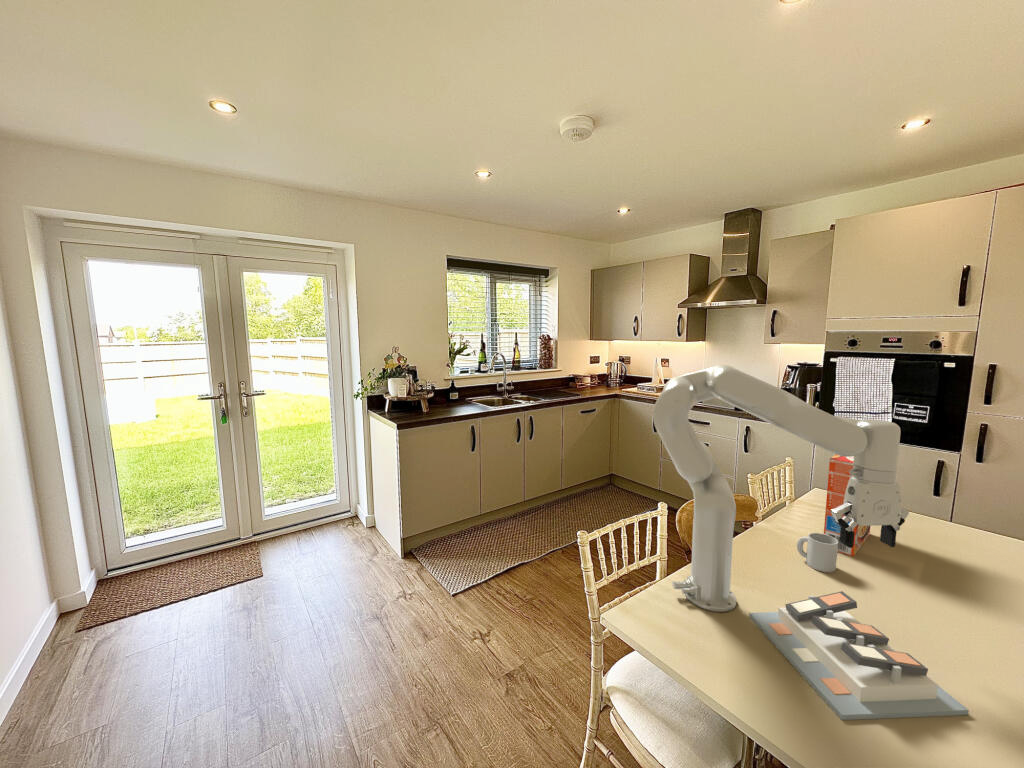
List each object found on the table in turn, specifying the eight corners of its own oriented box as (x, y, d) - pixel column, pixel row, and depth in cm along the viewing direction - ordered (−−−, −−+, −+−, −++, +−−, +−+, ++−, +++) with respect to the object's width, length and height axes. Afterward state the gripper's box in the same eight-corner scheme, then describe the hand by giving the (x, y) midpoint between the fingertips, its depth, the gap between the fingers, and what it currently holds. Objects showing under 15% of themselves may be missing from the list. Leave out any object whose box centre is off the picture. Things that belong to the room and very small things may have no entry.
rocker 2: (825, 634, 87) (827, 627, 87) (810, 621, 91) (812, 614, 91) (887, 645, 88) (889, 638, 87) (870, 631, 92) (872, 625, 91)
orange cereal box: (853, 556, 130) (862, 464, 127) (822, 546, 137) (829, 458, 133) (869, 533, 145) (877, 450, 142) (841, 525, 151) (847, 446, 148)
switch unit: (841, 719, 76) (844, 684, 75) (749, 616, 103) (750, 589, 103) (968, 714, 76) (972, 679, 75) (842, 613, 104) (845, 586, 103)
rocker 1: (798, 621, 95) (797, 614, 95) (786, 609, 99) (785, 603, 99) (857, 607, 95) (856, 601, 95) (842, 596, 99) (842, 590, 99)
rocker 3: (858, 664, 79) (860, 657, 79) (840, 649, 83) (843, 641, 83) (925, 676, 80) (928, 668, 79) (905, 659, 84) (908, 652, 83)
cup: (833, 576, 120) (835, 547, 119) (792, 562, 127) (794, 535, 126) (838, 566, 125) (840, 538, 124) (798, 554, 132) (800, 527, 131)
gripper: (849, 480, 91) (843, 553, 93) (927, 479, 91) (919, 552, 93) (823, 469, 98) (818, 537, 100) (895, 468, 99) (888, 536, 101)
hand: (866, 544), depth 97 cm, fingers open, 9 cm apart
